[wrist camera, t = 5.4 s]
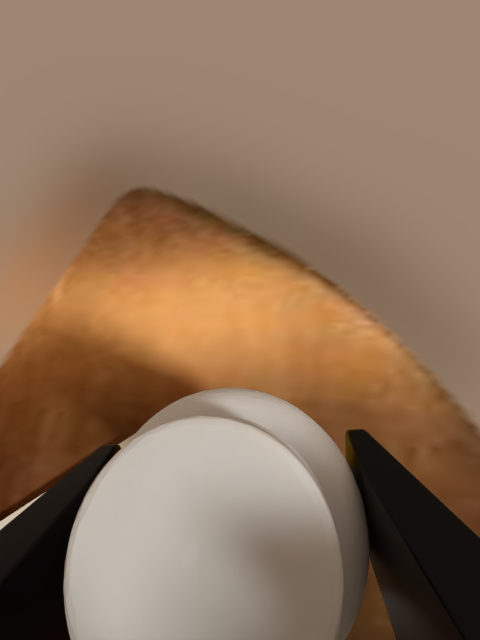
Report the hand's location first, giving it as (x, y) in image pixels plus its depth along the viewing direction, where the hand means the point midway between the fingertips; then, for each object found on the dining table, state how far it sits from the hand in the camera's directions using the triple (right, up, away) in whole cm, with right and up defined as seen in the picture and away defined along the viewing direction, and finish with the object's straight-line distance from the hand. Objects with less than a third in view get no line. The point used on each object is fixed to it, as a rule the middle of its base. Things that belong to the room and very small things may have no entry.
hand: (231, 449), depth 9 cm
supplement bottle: (+1, -4, +6) cm, 7 cm away
